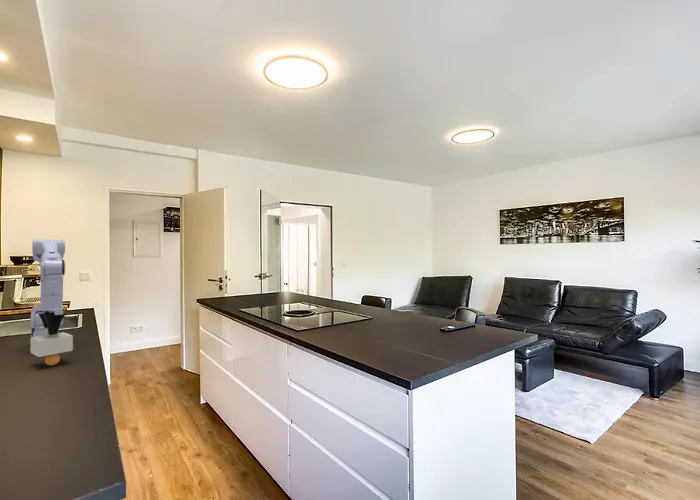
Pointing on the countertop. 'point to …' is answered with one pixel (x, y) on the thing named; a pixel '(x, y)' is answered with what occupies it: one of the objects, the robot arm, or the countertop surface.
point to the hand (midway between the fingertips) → (51, 333)
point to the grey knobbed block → (51, 344)
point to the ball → (52, 359)
